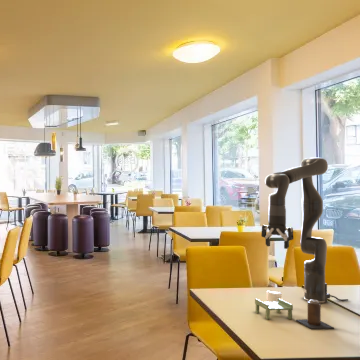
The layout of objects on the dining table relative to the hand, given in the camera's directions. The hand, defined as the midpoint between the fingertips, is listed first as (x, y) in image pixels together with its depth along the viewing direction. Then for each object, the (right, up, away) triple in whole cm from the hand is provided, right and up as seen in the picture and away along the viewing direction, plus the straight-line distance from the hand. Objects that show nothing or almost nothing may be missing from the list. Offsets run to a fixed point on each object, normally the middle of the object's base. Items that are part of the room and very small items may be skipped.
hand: (277, 247), depth 191 cm
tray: (-8, -30, -11) cm, 33 cm away
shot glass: (+1, -30, +4) cm, 31 cm away
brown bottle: (+4, -29, -22) cm, 37 cm away
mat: (+4, -30, -22) cm, 37 cm away
